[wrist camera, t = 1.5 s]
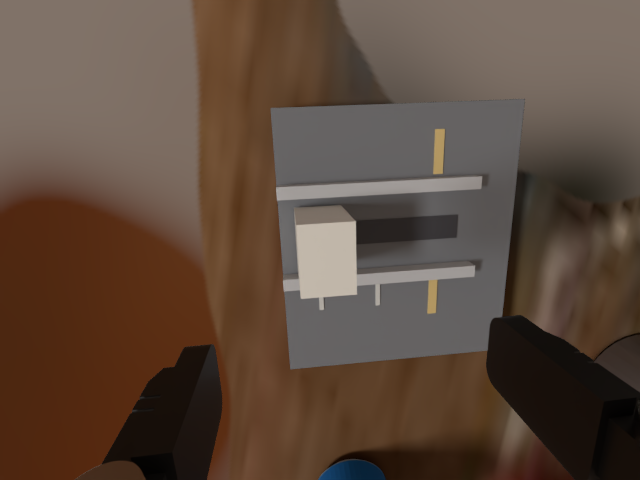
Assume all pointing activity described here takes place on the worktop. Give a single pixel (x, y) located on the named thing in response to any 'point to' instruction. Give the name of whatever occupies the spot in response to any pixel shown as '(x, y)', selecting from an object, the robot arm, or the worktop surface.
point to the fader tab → (325, 251)
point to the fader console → (401, 224)
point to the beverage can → (353, 471)
